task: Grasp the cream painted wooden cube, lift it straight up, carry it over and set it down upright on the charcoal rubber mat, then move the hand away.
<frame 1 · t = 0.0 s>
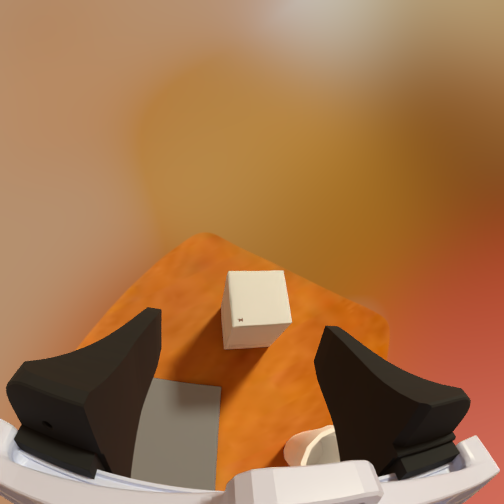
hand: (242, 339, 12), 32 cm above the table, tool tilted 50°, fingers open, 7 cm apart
foam cup: (303, 450, 36), on the table
supplement box: (244, 326, 46), on the table
charcoal mat: (169, 438, 34), on the table
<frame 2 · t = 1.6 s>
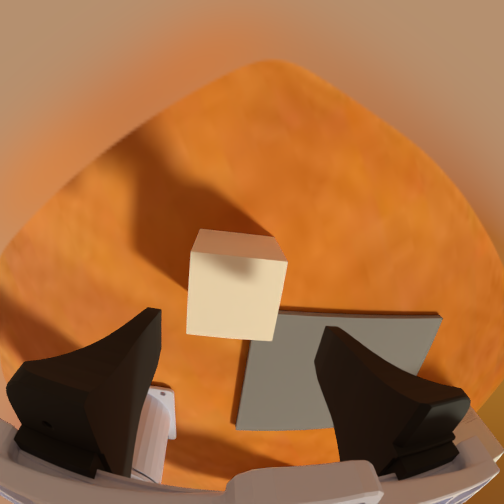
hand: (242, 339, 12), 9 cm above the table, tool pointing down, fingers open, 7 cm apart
supplement box: (434, 416, 30), on the table
charcoal mat: (340, 378, 24), on the table
cream cube: (233, 267, 20), on the table
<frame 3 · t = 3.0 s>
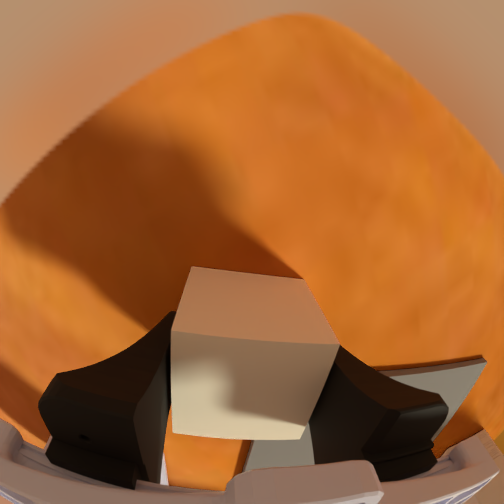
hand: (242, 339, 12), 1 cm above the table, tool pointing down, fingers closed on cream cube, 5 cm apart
supplement box: (454, 452, 23), on the table
charcoal mat: (367, 435, 18), on the table
cream cube: (241, 321, 14), on the table, touching gripper
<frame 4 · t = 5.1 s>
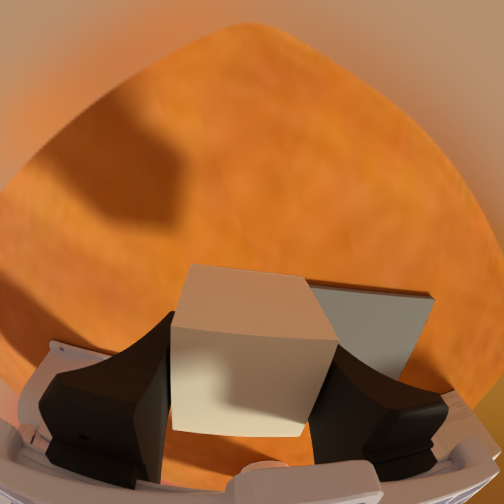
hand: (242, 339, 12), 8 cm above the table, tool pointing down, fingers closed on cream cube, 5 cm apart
foam cup: (264, 470, 29), on the table
supplement box: (426, 412, 29), on the table
charcoal mat: (322, 361, 23), on the table
cream cube: (240, 319, 14), point 7 cm above the table, touching gripper
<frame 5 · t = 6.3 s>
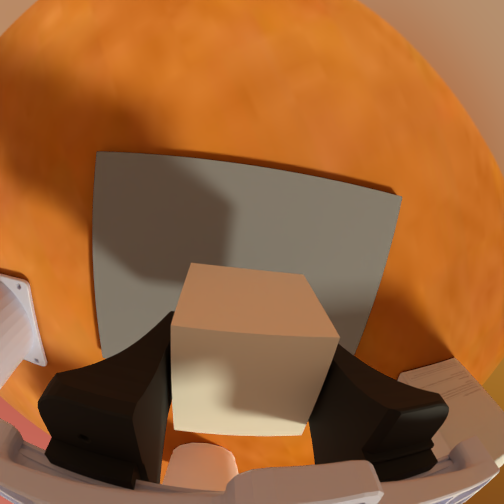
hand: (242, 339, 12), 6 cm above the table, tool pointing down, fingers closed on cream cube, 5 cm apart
foam cup: (203, 456, 24), on the table
supplement box: (417, 389, 23), on the table
charcoal mat: (237, 284, 18), on the table
cream cube: (241, 318, 14), point 4 cm above the table, touching gripper
when the fingers open (3 cm above the table, at t = 7.2 s): cream cube drops 1 cm, resting on charcoal mat.
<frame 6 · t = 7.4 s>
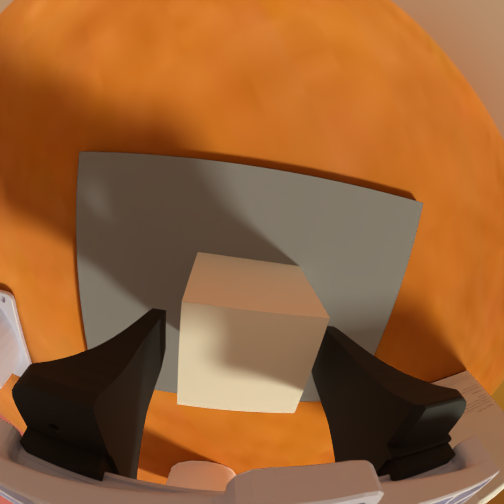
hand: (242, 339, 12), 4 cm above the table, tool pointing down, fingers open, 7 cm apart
foam cup: (203, 473, 22), on the table
supplement box: (427, 403, 21), on the table
charcoal mat: (239, 301, 15), on the table
cream cube: (241, 304, 15), point 1 cm above the table, touching charcoal mat
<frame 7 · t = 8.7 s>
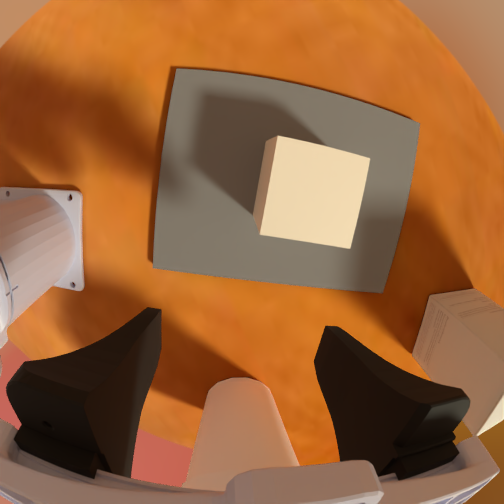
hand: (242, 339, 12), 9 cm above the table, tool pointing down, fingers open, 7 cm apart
foam cup: (239, 398, 26), on the table
supplement box: (443, 320, 25), on the table
charcoal mat: (293, 185, 20), on the table
cream cube: (296, 184, 19), point 1 cm above the table, touching charcoal mat
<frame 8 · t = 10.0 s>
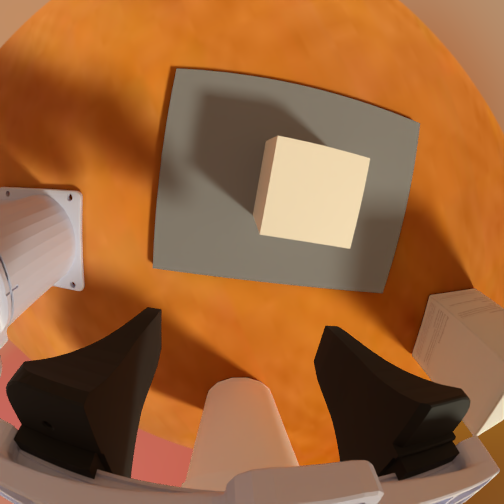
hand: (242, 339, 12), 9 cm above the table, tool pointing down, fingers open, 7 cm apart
foam cup: (239, 398, 26), on the table
supplement box: (443, 320, 25), on the table
charcoal mat: (293, 185, 20), on the table
cream cube: (296, 184, 19), point 1 cm above the table, touching charcoal mat
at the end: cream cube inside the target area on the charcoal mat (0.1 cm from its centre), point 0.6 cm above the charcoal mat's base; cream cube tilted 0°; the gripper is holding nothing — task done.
